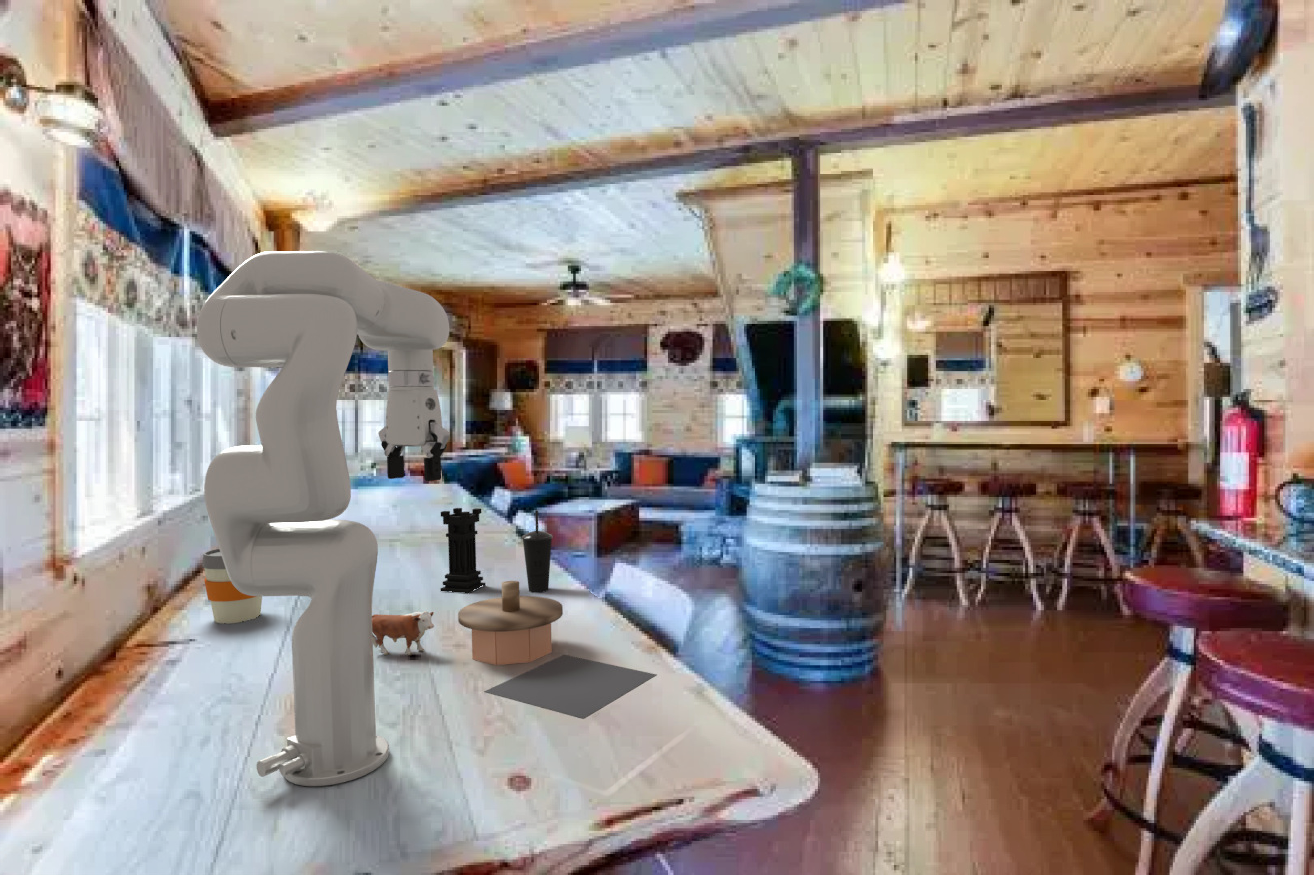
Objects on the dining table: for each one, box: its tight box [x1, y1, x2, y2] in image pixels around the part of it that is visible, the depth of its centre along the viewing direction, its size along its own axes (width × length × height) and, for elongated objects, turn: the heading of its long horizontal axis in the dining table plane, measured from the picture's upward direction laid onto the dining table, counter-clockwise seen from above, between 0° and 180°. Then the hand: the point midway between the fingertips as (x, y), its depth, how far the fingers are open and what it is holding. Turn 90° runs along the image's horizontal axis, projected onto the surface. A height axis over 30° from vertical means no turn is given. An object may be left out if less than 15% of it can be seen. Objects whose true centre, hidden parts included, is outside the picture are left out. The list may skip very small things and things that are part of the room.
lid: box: [457, 580, 564, 632], centre depth 137 cm, size 19×19×6 cm
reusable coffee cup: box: [201, 548, 263, 624], centre depth 163 cm, size 13×13×15 cm
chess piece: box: [440, 507, 486, 594], centre depth 186 cm, size 8×8×20 cm
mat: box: [483, 654, 658, 720], centre depth 120 cm, size 20×20×1 cm
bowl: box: [471, 623, 553, 666], centre depth 137 cm, size 14×14×7 cm
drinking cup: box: [521, 509, 554, 593], centre depth 183 cm, size 8×8×20 cm
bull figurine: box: [372, 610, 435, 656], centre depth 138 cm, size 4×13×8 cm, turn 79°
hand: (414, 479), depth 130 cm, fingers open, 9 cm apart
